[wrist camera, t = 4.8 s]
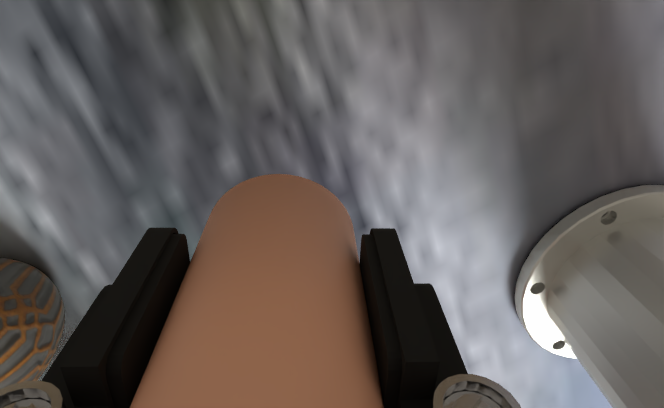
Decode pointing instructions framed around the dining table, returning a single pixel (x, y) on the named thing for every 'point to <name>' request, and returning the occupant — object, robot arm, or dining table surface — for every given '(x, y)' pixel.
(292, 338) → the peg
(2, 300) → the vase
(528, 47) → the dining table surface
